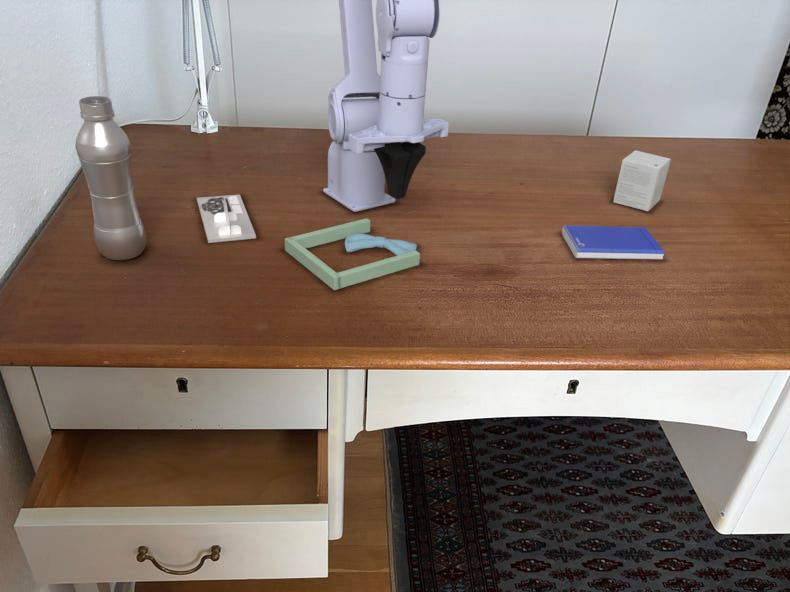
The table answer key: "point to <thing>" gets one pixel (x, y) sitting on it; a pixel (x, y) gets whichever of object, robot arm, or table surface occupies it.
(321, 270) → the bay
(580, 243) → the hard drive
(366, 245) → the bow tie
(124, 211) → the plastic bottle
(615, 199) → the product box
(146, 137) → the table surface
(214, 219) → the grey board with parts
